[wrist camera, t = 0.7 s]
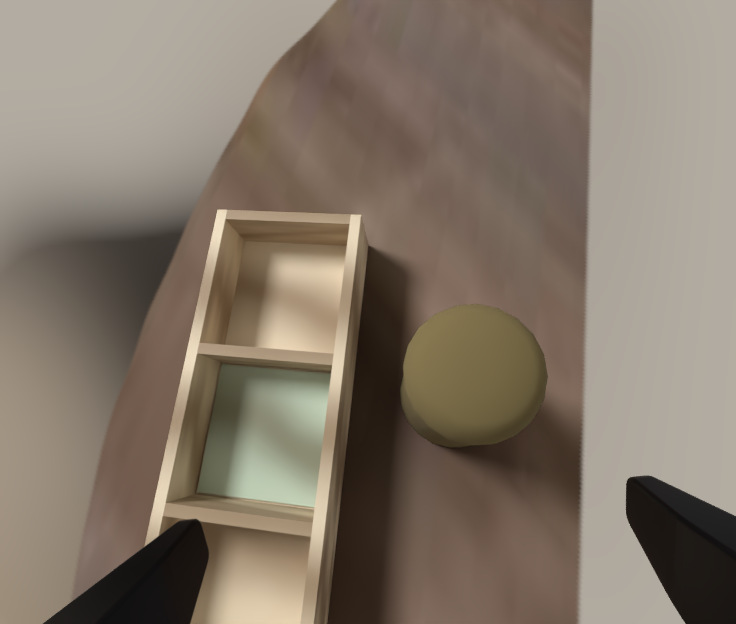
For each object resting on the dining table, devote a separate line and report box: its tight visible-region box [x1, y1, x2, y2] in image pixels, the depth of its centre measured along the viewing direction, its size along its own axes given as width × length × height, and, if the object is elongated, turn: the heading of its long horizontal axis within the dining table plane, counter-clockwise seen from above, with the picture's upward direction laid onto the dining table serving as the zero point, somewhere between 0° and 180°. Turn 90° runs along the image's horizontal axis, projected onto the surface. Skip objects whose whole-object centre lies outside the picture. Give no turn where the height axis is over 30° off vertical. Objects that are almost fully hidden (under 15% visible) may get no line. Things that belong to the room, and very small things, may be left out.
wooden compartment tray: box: [145, 210, 368, 624], centre depth 23 cm, size 25×9×4 cm, turn 174°
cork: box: [400, 304, 548, 448], centre depth 19 cm, size 6×6×11 cm
